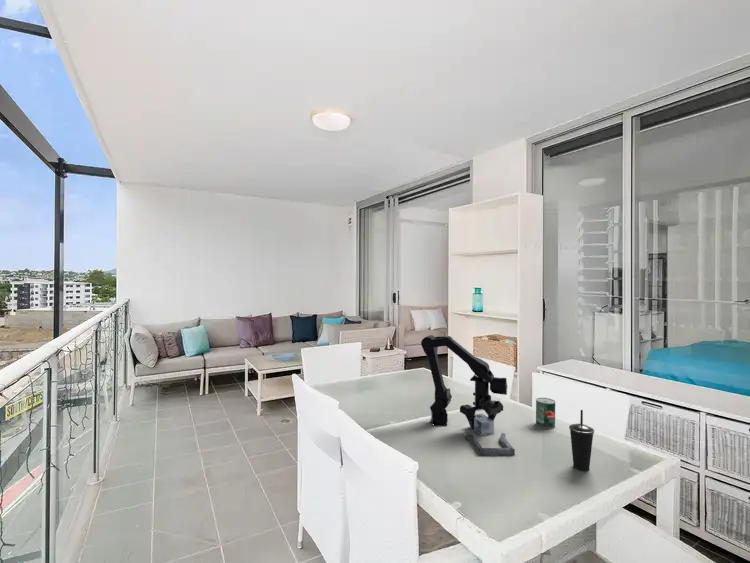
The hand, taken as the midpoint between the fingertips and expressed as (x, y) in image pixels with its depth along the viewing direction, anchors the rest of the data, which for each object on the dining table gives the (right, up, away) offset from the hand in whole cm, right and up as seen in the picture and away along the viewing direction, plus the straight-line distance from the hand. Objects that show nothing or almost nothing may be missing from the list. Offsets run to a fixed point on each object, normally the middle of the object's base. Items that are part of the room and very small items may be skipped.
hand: (481, 427), depth 163 cm
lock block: (0, -1, 0) cm, 1 cm away
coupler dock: (-1, -1, -16) cm, 16 cm away
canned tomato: (+30, -1, +6) cm, 30 cm away
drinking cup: (+26, -2, -32) cm, 41 cm away
